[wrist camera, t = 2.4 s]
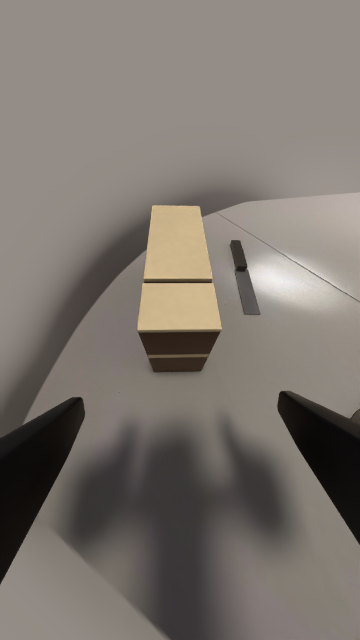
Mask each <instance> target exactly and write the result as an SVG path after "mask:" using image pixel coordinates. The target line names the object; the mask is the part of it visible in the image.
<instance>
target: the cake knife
mask: <svg viewBox="0 0 360 640" xmlns="http://www.w3.org/2000/svg"><path fill="white" fill-rule="evenodd" d="M230 245H231V250H232V254H233V258H234V263H235V267H236V269H235V274H236V279H237V283H238V288H239V292H240V296H241V301H242V305H243V310H244V314H250V315H260V310H259V307H258V303H257V300H256V296H255V293H254V289H253V286H252V283H251V279H250V276H249V272H248V270H247V263H246V259H245V256H244V253H243V249H242V246H241V242H240V241H239V240H231V244H230Z"/></svg>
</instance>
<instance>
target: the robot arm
mask: <svg viewBox="0 0 360 640" xmlns="http://www.w3.org/2000/svg"><path fill="white" fill-rule="evenodd" d="M277 407H278V412H279V414H280V416H281V417H282V419H283V421H284V423H285V425H286V427H287V429H288V431H289V432H290V434H291V436H292V438H293V440H294V442H295V444H296V445H297V447H298V449H299V450H300V452H301V454H302V455H303V457H304V458H305V460H306V462H307V463H308V465H309V466H310V468H311V469H312V471H313V472H314V474H315V476H316V477H317V479H318V480H319V482H320V483H321V485H322V487H323V488H324V490H325V491H326V493H327V494H328V496H329V497H330V499H331V501H332V502H333V504H334V505H335V507H336V508H337V510H338V512H339V513H340V515H341V516H342V518H343V519H344V521H345V522H346V524H347V526H348V527H349V529H350V530H351V532H352V533H353V535H354V537H355V538H356V540H357V541H358V543H359V544H360V424H359V423H357V422H355V421H353V420H351V419H349V418H346V417H344V416H342V415H340V414H338V413H336V412H334V411H332V410H329V409H327V408H325V407H323V406H321V405H319V404H317V403H315V402H312V401H310V400H308V399H306V398H304V397H302V396H300V395H297V394H295V393H293V392H291V391H281V392H280V393H279V399H278V405H277ZM84 417H85V410H84V403H83V399H82V398H81V397H72V398H70V399H68V400H66V401H65V402H63V403H61V404H59V405H58V406H56V407H54V408H52V409H51V410H49V411H47V412H45V413H44V414H42V415H40V416H38V417H37V418H35V419H33V420H31V421H30V422H28V423H26V424H24V425H23V426H21V427H19V428H17V429H16V430H14V431H12V432H10V433H9V434H7V435H5V436H3V437H1V438H0V584H1V582H2V580H3V578H4V577H5V575H6V573H7V571H8V569H9V567H10V565H11V563H12V561H13V559H14V558H15V556H16V554H17V552H18V550H19V548H20V546H21V544H22V543H23V540H24V539H25V537H26V535H27V533H28V531H29V529H30V527H31V525H32V524H33V522H34V520H35V518H36V516H37V514H38V512H39V510H40V509H41V507H42V505H43V503H44V501H45V499H46V497H47V495H48V493H49V492H50V490H51V488H52V486H53V484H54V482H55V480H56V478H57V476H58V475H59V473H60V471H61V469H62V467H63V465H64V463H65V461H66V459H67V457H68V455H69V453H70V450H71V448H72V446H73V443H74V441H75V439H76V436H77V434H78V432H79V429H80V427H81V425H82V422H83V420H84Z"/></svg>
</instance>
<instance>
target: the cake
mask: <svg viewBox="0 0 360 640" xmlns="http://www.w3.org/2000/svg"><path fill="white" fill-rule="evenodd" d="M212 280H213V277H212V272H211V266H210V261H209V256H208V250H207V245H206V239H205V234H204V228H203V223H202V217H201V212H200V207H199V206H152V214H151V222H150V230H149V239H148V246H147V254H146V262H145V271H144V283H212Z"/></svg>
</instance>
